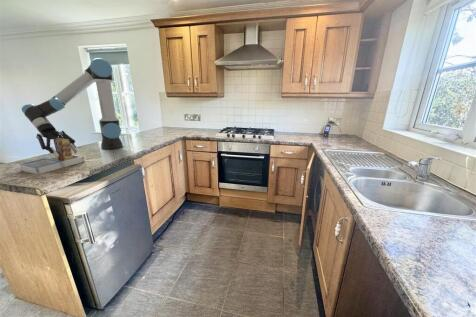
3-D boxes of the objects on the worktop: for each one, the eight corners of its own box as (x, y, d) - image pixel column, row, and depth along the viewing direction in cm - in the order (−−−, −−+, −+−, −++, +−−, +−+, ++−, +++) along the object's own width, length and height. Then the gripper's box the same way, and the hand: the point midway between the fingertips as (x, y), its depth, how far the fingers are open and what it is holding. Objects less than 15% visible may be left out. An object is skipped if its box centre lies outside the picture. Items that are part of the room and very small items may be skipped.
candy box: (74, 163, 122) (69, 139, 118) (66, 165, 118) (60, 140, 114) (66, 160, 126) (60, 137, 121) (58, 162, 122) (52, 138, 117)
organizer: (69, 158, 130) (68, 152, 128) (84, 161, 125) (83, 155, 124) (21, 170, 108) (19, 163, 107) (37, 174, 104) (35, 167, 102)
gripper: (63, 128, 131) (84, 153, 131) (18, 133, 111) (43, 163, 111) (66, 120, 128) (88, 146, 128) (21, 124, 108) (47, 155, 108)
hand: (67, 154), depth 119 cm, fingers open, 10 cm apart
